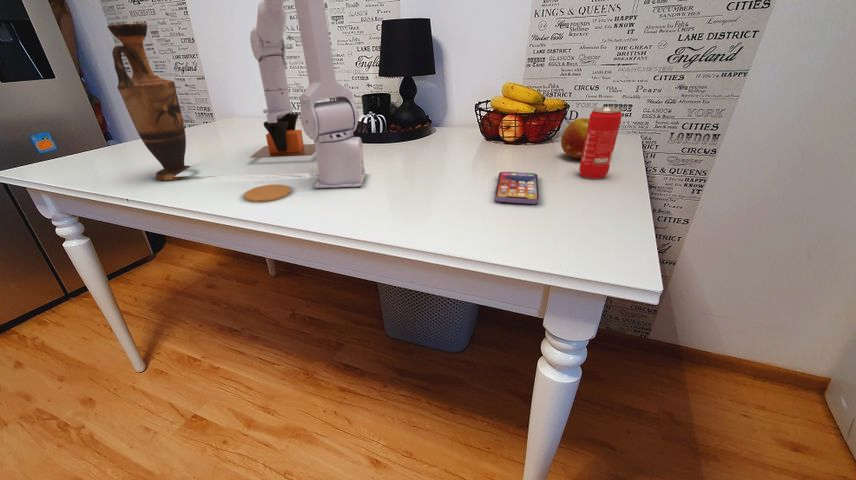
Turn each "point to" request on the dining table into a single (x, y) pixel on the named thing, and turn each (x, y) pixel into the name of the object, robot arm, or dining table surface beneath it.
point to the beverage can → (600, 142)
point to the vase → (150, 102)
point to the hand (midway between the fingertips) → (286, 147)
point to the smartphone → (517, 188)
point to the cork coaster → (267, 193)
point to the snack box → (288, 142)
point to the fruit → (575, 137)
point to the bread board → (264, 152)
